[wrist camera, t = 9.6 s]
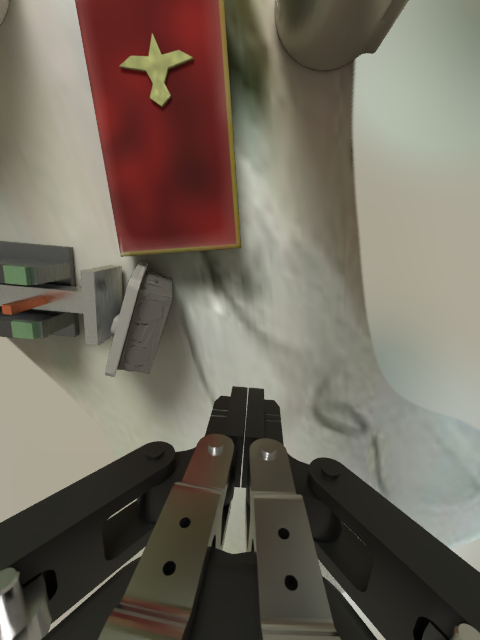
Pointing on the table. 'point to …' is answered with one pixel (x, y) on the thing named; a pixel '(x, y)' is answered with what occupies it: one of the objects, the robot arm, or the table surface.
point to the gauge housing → (37, 268)
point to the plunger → (73, 300)
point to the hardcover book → (164, 121)
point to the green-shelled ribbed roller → (3, 9)
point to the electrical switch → (139, 321)
